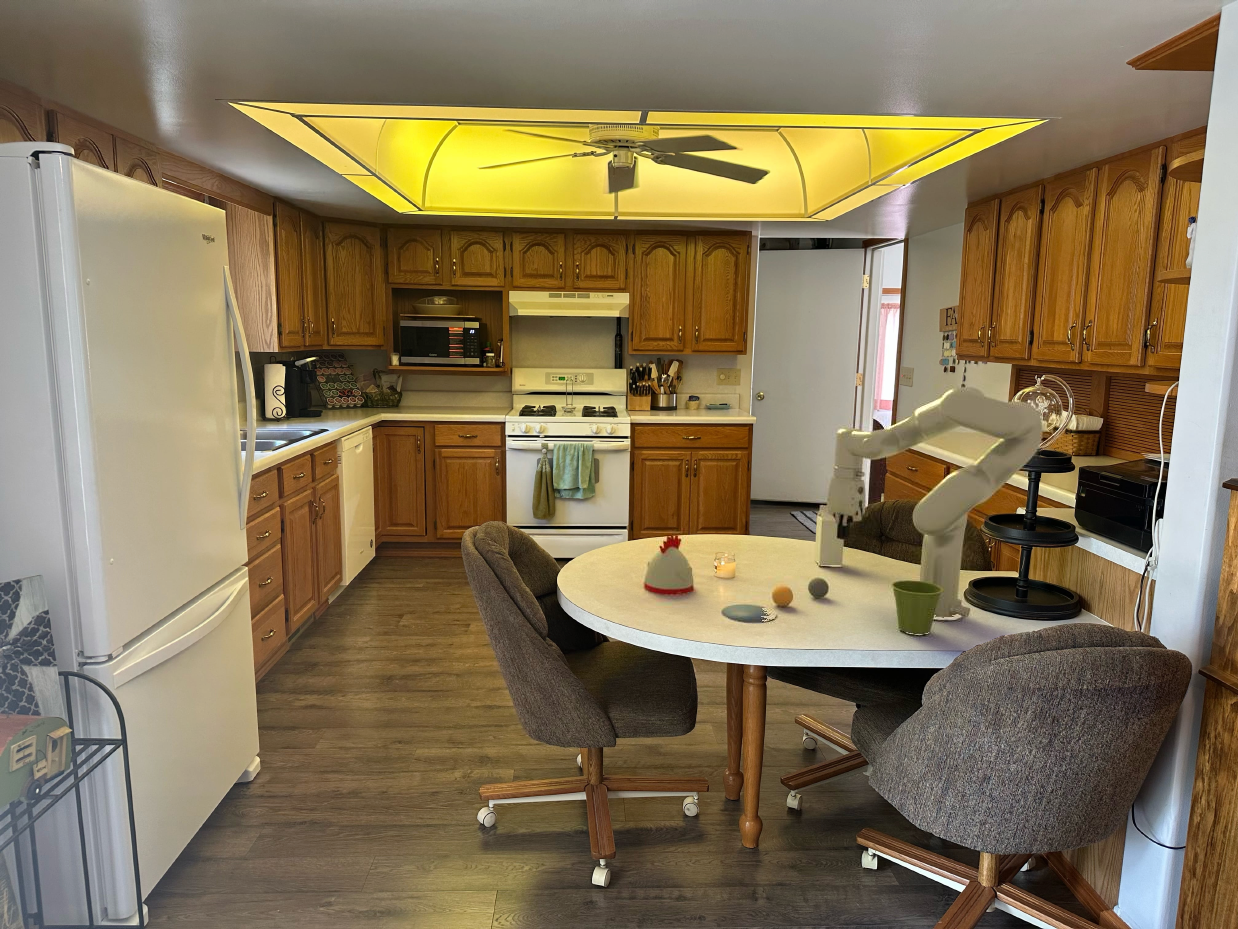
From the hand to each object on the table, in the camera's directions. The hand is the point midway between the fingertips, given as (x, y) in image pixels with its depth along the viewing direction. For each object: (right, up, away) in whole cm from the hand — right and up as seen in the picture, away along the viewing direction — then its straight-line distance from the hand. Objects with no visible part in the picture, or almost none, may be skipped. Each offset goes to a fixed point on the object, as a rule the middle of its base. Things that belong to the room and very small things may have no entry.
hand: (842, 538), depth 231 cm
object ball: (-19, -14, -12) cm, 27 cm away
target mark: (-29, -18, -19) cm, 39 cm away
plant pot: (+9, -20, -29) cm, 37 cm away
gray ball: (-8, -13, -4) cm, 16 cm away
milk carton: (+4, -11, +32) cm, 34 cm away
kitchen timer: (-48, -14, +3) cm, 50 cm away
